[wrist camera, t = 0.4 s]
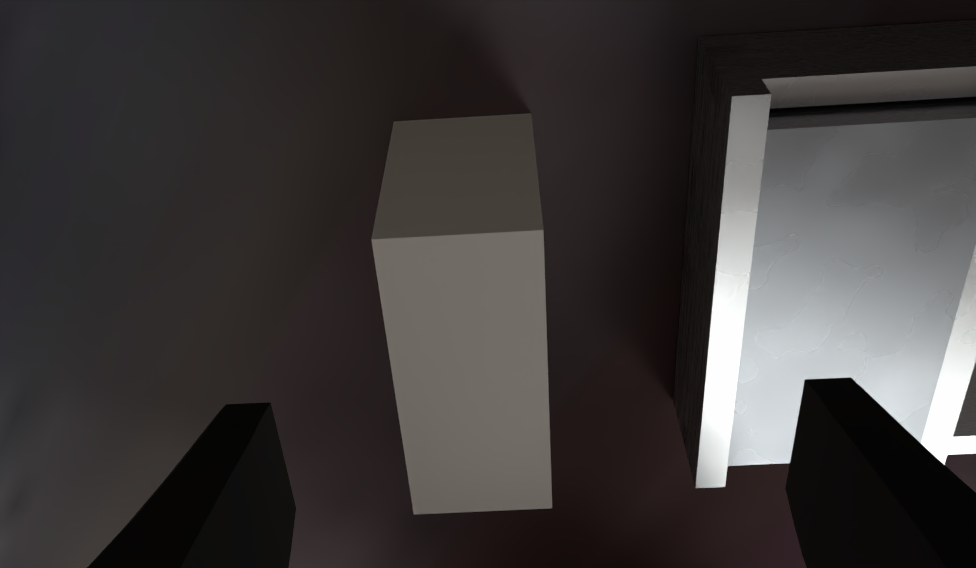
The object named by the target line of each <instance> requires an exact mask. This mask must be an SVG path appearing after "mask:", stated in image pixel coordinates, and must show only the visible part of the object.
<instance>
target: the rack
mask: <svg viewBox="0 0 976 568" xmlns="http://www.w3.org/2000/svg"><path fill="white" fill-rule="evenodd" d="M849 377H851V378H852V379H853V380H854V381H855V382H856V383H857V384H859V385H860V386H861V387H862V388H863V389H864V390H865V391H866V392H867V393H868V394H869V395H870V396H871V397H872V398H873V399H874V400H875V401H876V402H878V403H879V404H880V405H881V406H882V407H883V408H884V409H885V410H886V411H887V412H888V413H889V414H890V415H891V416H892V417H893V418H894V419H895V420H896V421H898V422H899V423H900V424H901V425H902V426H903V427H904V428H905V429H906V430H907V431H908V432H909V433H910V434H911V435H912V436H913V437H914V438H916V439H917V440H918V441H919V442H920V443H921V444H922V445H923V446H924V447H925V448H926V449H927V450H928V451H929V452H931V453H932V454H933V455H934V456H935V457H936V458H937V459H938V460H939V461H940V462H941V463H943V464H945V461H946V458H947V455H952V454H973V453H976V20H966V21H949V22H933V23H917V24H900V25H884V26H868V27H851V28H835V29H819V30H802V31H786V32H770V33H753V34H737V35H720V36H704V37H698V50H697V64H696V79H695V94H694V108H693V123H692V137H691V152H690V166H689V181H688V195H687V210H686V225H685V239H684V254H683V268H682V283H681V297H680V312H679V327H678V341H677V356H676V370H675V385H674V399H673V402H674V406H675V410H676V414H677V418H678V422H679V426H680V430H681V434H682V437H683V441H684V445H685V449H686V453H687V457H688V461H689V465H690V469H691V473H692V476H693V480H694V484H695V488H712V487H725V482H726V474H727V466H738V465H758V464H779V463H790V460H791V455H792V449H793V443H794V438H795V432H796V426H797V421H798V415H799V410H800V404H801V398H802V393H803V387H804V381H805V379H826V378H849Z"/></svg>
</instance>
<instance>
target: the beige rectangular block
mask: <svg viewBox="0 0 976 568" xmlns="http://www.w3.org/2000/svg"><path fill="white" fill-rule="evenodd" d="M371 241H372V247H373V254H374V260H375V267H376V273H377V280H378V286H379V293H380V299H381V306H382V312H383V319H384V325H385V331H386V338H387V344H388V351H389V357H390V364H391V370H392V377H393V383H394V390H395V396H396V403H397V409H398V416H399V422H400V429H401V435H402V442H403V448H404V455H405V461H406V468H407V474H408V481H409V487H410V493H411V500H412V506H413V513H414V515H415V514H437V513H459V512H481V511H503V510H525V509H547V508H552V485H551V453H550V421H549V389H548V358H547V326H546V294H545V262H544V231H543V221H542V211H541V202H540V192H539V182H538V173H537V163H536V154H535V144H534V135H533V125H532V115H531V113H528V114H511V115H494V116H477V117H460V118H443V119H426V120H409V121H394V122H393V128H392V133H391V138H390V144H389V149H388V154H387V159H386V165H385V170H384V175H383V180H382V186H381V191H380V196H379V202H378V207H377V212H376V217H375V223H374V228H373V233H372V238H371Z"/></svg>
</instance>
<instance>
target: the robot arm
mask: <svg viewBox="0 0 976 568" xmlns="http://www.w3.org/2000/svg"><path fill="white" fill-rule="evenodd" d="M786 492H787V496H788V500H789V505H790V509H791V513H792V517H793V521H794V525H795V529H796V533H797V536H798V540H799V544H800V548H801V551H802V555H803V558H804V561H805V564H806V566H807V568H976V493H975V492H974V491H973V490H972V489H971V488H970V487H969V486H967V485H966V484H965V483H964V482H963V481H962V480H961V479H959V478H958V477H957V476H956V475H955V474H954V473H953V472H952V471H950V470H949V469H948V468H947V467H946V466H945V465H944V464H943V463H941V462H940V461H939V460H938V459H937V458H936V457H935V456H934V455H933V454H932V453H931V452H929V451H928V450H927V449H926V448H925V447H924V446H923V445H922V444H921V443H920V442H919V441H918V440H917V439H916V438H914V437H913V436H912V435H911V434H910V433H909V432H908V431H907V430H906V429H905V428H904V427H903V426H902V425H901V424H900V423H899V422H898V421H896V420H895V419H894V418H893V417H892V416H891V415H890V414H889V413H888V412H887V411H886V410H885V409H884V408H883V407H882V406H881V405H880V404H879V403H878V402H876V401H875V400H874V399H873V398H872V397H871V396H870V395H869V394H868V393H867V392H866V391H865V390H864V389H863V388H862V387H861V386H860V385H859V384H857V383H856V382H855V381H854V380H853V379H852V378H851V377H849V378H826V379H805V381H804V387H803V393H802V398H801V404H800V410H799V415H798V421H797V426H796V432H795V438H794V443H793V449H792V455H791V460H790V466H789V472H788V477H787V483H786ZM295 511H296V506H295V502H294V498H293V494H292V490H291V486H290V482H289V477H288V473H287V469H286V465H285V461H284V457H283V452H282V448H281V444H280V440H279V436H278V432H277V428H276V423H275V419H274V415H273V411H272V407H271V403H250V404H227V405H225V406H224V407H223V408H222V409H221V411H220V412H219V413H218V414H217V415H216V417H215V418H214V419H213V420H212V422H211V423H210V424H209V425H208V427H207V428H206V429H205V430H204V432H203V433H202V434H201V435H200V437H199V438H198V439H197V440H196V442H195V443H194V444H193V446H192V447H191V448H190V449H189V451H188V452H187V453H186V454H185V456H184V457H183V458H182V459H181V461H180V462H179V463H178V464H177V466H176V467H175V468H174V469H173V471H172V472H171V473H170V474H169V475H168V477H167V478H166V479H165V480H164V482H163V483H162V484H161V485H160V486H159V487H158V489H157V490H156V491H155V492H154V493H153V495H152V496H151V497H150V498H149V499H148V500H147V502H146V503H145V504H144V505H143V506H142V508H141V509H140V510H139V511H138V512H137V513H136V515H135V516H134V517H133V518H132V519H131V521H130V522H129V523H128V524H127V525H126V526H125V527H124V528H123V530H122V531H121V532H120V533H119V534H118V535H117V536H116V537H115V538H114V539H113V540H112V542H111V543H110V544H109V545H108V546H107V547H106V548H105V549H104V550H103V551H102V552H101V553H100V554H99V555H98V557H97V558H96V559H95V560H94V561H93V562H92V563H91V564H90V565H89V566H88V567H87V568H288V566H289V559H290V552H291V545H292V536H293V528H294V520H295Z"/></svg>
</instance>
